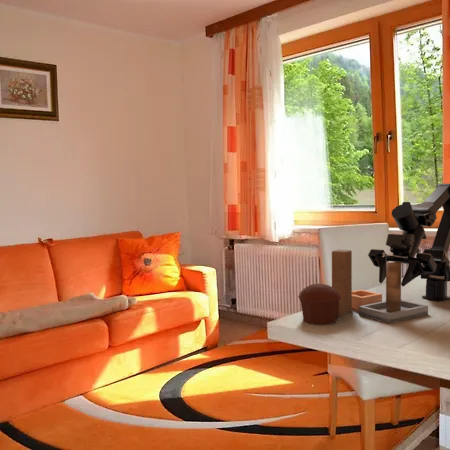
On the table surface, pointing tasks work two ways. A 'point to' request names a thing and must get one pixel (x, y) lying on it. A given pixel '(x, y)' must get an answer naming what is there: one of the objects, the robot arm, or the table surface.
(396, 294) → the dowel pin
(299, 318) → the table surface
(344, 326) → the table surface
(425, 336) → the table surface
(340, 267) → the wooden block
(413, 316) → the tray
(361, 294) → the orange square ring
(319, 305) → the muffin
